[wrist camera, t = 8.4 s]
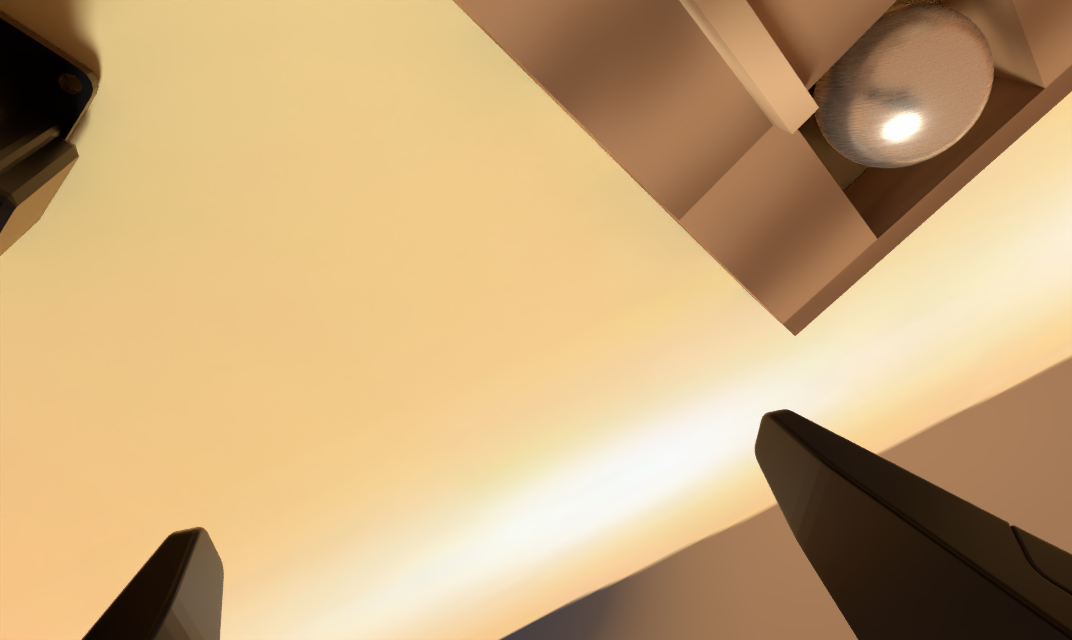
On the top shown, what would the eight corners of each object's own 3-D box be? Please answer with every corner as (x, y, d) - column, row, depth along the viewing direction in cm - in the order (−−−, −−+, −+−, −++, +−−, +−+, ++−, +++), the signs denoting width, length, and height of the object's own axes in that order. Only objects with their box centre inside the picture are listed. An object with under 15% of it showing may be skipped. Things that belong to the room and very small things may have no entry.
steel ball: (807, 172, 23) (785, 37, 22) (948, 130, 22) (937, -15, 20) (853, 202, 19) (831, 34, 17) (1034, 152, 18) (1030, -33, 16)
